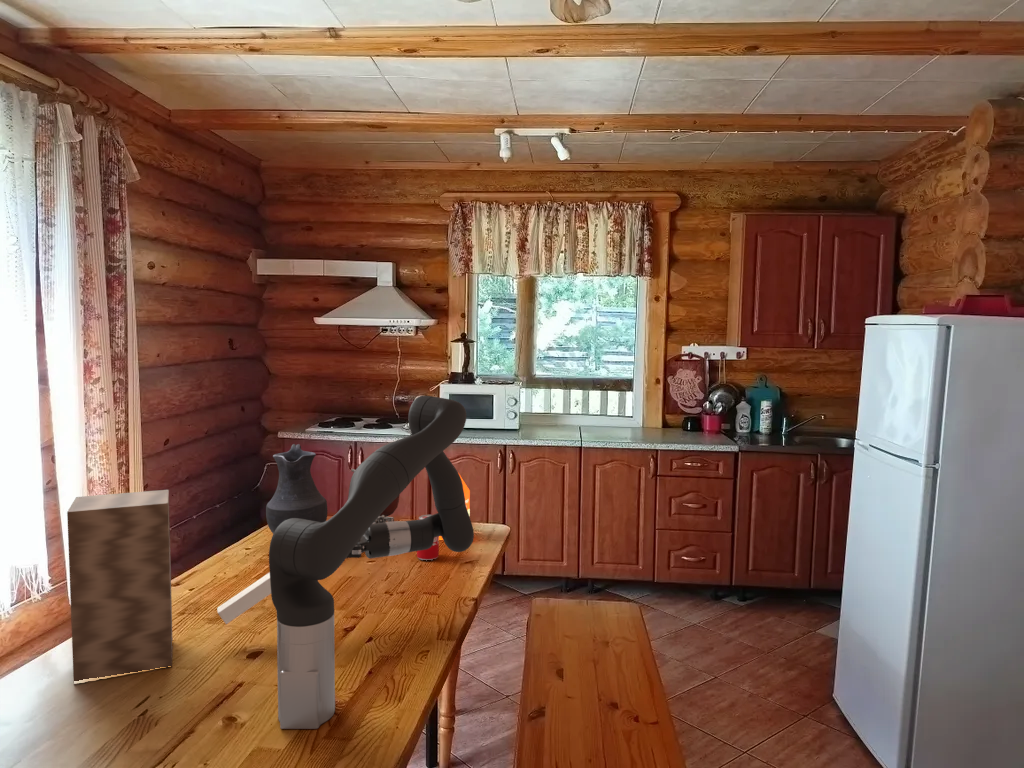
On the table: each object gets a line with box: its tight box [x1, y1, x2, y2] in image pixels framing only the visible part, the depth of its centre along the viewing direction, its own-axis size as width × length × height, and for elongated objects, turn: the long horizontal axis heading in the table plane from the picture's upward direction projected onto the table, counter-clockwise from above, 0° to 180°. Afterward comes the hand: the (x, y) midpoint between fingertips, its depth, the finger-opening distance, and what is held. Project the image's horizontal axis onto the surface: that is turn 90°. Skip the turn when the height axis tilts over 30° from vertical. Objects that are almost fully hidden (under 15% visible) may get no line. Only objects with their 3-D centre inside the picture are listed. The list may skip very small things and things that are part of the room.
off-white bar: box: [216, 571, 271, 625], centre depth 144 cm, size 26×3×3 cm, turn 116°
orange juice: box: [439, 473, 471, 540], centre depth 215 cm, size 8×9×20 cm
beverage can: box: [416, 514, 440, 562], centre depth 195 cm, size 6×6×12 cm
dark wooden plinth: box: [66, 489, 174, 682], centre depth 132 cm, size 16×12×32 cm
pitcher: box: [265, 443, 328, 535], centre depth 204 cm, size 17×21×30 cm
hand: (308, 548), depth 147 cm, fingers closed on off-white bar, 3 cm apart
